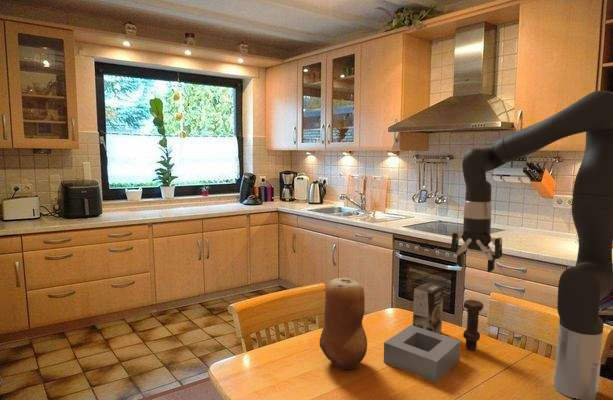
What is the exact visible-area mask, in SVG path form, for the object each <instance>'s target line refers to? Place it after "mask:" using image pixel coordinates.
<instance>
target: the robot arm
mask: <svg viewBox="0 0 613 400" xmlns="http://www.w3.org/2000/svg"><path fill="white" fill-rule="evenodd" d="M583 133H585V148H584V154H583V158H582V161H581V163H580V166H579V168H578V170H577V173H576V177H575V180H574V184H573V189H572V198H571V199H572V200H571V215H572V220H573V224H574V227H575V230H576V234H577V238H578V249H577V251H578V252H577V257H576V262H575V265H574V266H571V267H569V268H567V269H565V270H564V271H563V272H562V273H561V274H560V277H559V281H558V287H557V301H556V302H557V304H556V305H557V307H556V309H557V314H558V318H559V321H558V322H559V323H558V334H557V335H558V336H557V345H556V355H555V366H554V376H553V387H554V388H555V389H556V390H557V392H559V393H560V394H561V395H564V396H565V397H568V398H570V397H571V399H573V398H576V399H575V400H577V399H581V400H596V398H597V395H598V391H599V382H600V373H601V363H602V358H601V353H602V344H603V343H602V342H603V335H604V326H605V325H604V321H603V319H602V318H601V317H600V300H602V299H604V298H605V297H607V296H608V295H609V294H610V293H611V291H612V289H613V91H610V90H596V91H595V90H594V91H592V92H590V93H588V94H587V95H585V96H583V97H582V98H580V99H578V100H577V101H575V102H573V103H571V104H570V105H568V106H567V107H565V108H564V109H562V110H560V111H558V112H556V113H554V114H552V115H550V116H548V117H547V118H545V119H543V120H540V121H539V122H536V123H534V124H532V125H528V126H527V127H524V128H521V129H519V130H517V131H514V132H512V133H510V134H507V135H505V136H502V137H501V138H500V139H498V140H496V141H495V143H494V144H491V145H489V146H486V147H484V148H483V147H481V148H476V147H475V148H471V149H469V150H467V151H466V152H465V153H464V155H463V158H462V162H461V166H462V173H463V174H462V175H463V179H464V185H465V196H464V197H465V198H464V199H465V201H464V207H463V214H462V215H463V223H462V224H463V226H462V227H463V228H462V230H463V231H462V233H460V232H458V231H456V232H453V233H452V235H451V244H450V245H451V246H450V247H451V248H450V252H452V253H455V254H456V255H457V256H456V264H457V265H458V267H459V268H462V267H464V263H465V254H464V253H465V251H467V249H469V250H476V251H482V252H483V254H485V256H486V257H487V270H486V271H487V272H488V273H492V272H493V271H494V270H495V266H496V265H495V264H496V263H495V261H496V260H500V259H501V258H503V239H502V237H492V236H491V227H492V224H491V223H492V184H491V183H490V182H489V181H487V174H486V173H487V172H490V171H492V170H493V171H494V170H495V169H498V168H499V167H502V166H503V165H506V164H508V163H509V162H510V163H511V162H514V161H515V160H518V159H521V158H524V157H526V156H529V155H531V154H534V153H535V152H537V151H540V150H542V149H544V148H545V147H547V146H550V145H551V144H553V143H555V142H557V141H560V140H562V139H565V138H567V137H570V136H574V135H578V134H583ZM460 240H462V241H463V242H464V243H463V244H462V245H461V246H460V247H459V241H460ZM491 243H492V245H493V246H494V252H493V251H492V248H491V246H490V244H491ZM487 272H486V273H487Z"/></svg>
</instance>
